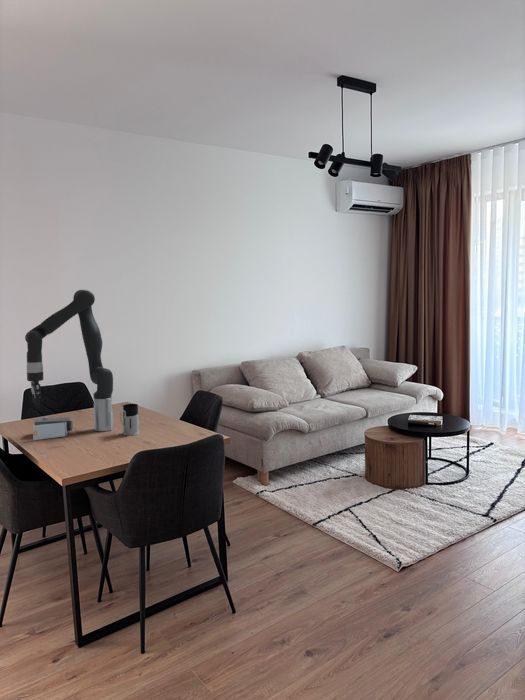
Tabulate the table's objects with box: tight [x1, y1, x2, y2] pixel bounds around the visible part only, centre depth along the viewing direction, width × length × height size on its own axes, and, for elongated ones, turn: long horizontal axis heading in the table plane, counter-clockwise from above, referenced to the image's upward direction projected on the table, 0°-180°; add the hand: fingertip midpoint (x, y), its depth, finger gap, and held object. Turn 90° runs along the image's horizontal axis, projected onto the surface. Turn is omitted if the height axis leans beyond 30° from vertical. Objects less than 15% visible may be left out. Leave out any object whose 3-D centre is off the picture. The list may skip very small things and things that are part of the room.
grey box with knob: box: [34, 416, 74, 438], centre depth 283 cm, size 17×10×9 cm, turn 96°
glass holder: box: [119, 403, 140, 437], centre depth 281 cm, size 9×14×15 cm, turn 164°
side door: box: [32, 422, 68, 441], centre depth 274 cm, size 16×2×7 cm, turn 121°
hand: (36, 403), depth 273 cm, fingers open, 7 cm apart
